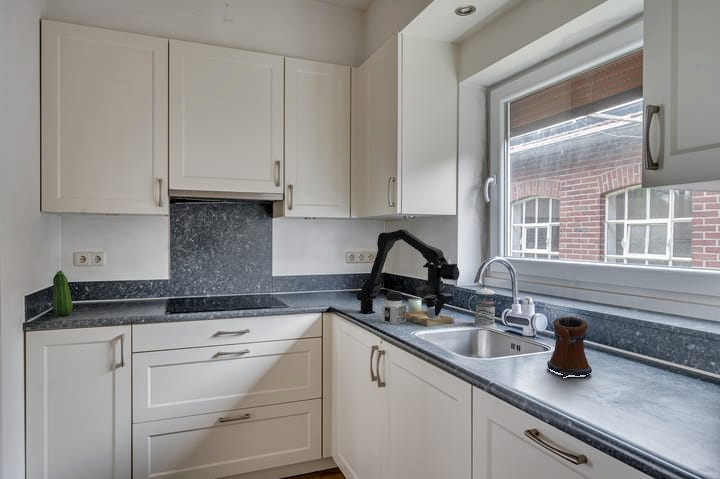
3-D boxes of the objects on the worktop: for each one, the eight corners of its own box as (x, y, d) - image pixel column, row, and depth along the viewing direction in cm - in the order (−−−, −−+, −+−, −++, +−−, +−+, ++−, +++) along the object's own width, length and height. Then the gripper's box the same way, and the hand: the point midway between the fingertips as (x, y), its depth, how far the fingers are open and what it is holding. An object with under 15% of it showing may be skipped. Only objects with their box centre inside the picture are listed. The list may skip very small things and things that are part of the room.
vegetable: (71, 316, 194) (71, 270, 194) (51, 317, 191) (51, 271, 190) (73, 313, 200) (73, 269, 200) (54, 314, 197) (54, 269, 197)
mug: (585, 388, 112) (587, 329, 112) (537, 379, 119) (538, 323, 118) (594, 370, 127) (595, 318, 127) (551, 363, 134) (552, 313, 133)
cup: (405, 314, 210) (406, 299, 209) (416, 313, 212) (416, 298, 212) (413, 316, 204) (413, 300, 204) (423, 315, 207) (424, 300, 207)
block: (427, 316, 192) (427, 307, 192) (434, 316, 194) (434, 307, 194) (432, 318, 188) (433, 309, 188) (440, 317, 190) (440, 308, 190)
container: (396, 324, 186) (397, 293, 185) (381, 322, 190) (381, 291, 190) (406, 321, 192) (406, 291, 191) (391, 319, 196) (391, 290, 196)
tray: (400, 317, 201) (400, 312, 201) (425, 315, 208) (425, 310, 208) (427, 326, 183) (427, 320, 183) (454, 323, 190) (454, 318, 190)
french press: (498, 328, 181) (499, 266, 181) (468, 326, 183) (469, 266, 183) (495, 323, 191) (496, 265, 190) (467, 321, 193) (468, 264, 192)
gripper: (406, 277, 195) (405, 312, 195) (432, 281, 179) (431, 320, 179) (426, 276, 200) (426, 310, 201) (454, 280, 184) (453, 318, 184)
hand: (433, 314), depth 191 cm, fingers closed on block, 4 cm apart
